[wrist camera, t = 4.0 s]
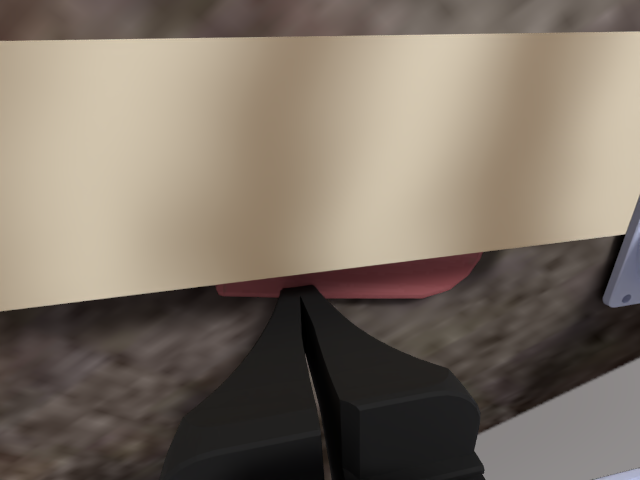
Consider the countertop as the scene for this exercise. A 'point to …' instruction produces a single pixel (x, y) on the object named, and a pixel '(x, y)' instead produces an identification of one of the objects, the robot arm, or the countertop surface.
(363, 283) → the popsicle
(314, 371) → the robot arm
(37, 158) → the rail
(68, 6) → the countertop surface
